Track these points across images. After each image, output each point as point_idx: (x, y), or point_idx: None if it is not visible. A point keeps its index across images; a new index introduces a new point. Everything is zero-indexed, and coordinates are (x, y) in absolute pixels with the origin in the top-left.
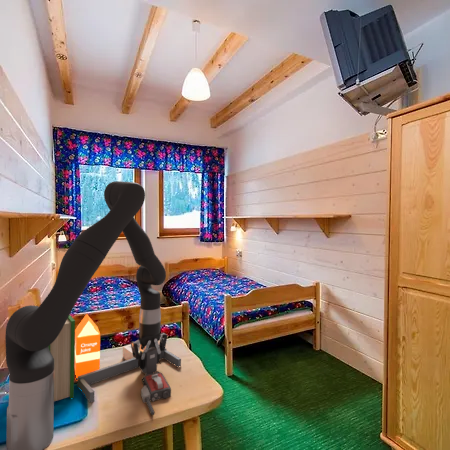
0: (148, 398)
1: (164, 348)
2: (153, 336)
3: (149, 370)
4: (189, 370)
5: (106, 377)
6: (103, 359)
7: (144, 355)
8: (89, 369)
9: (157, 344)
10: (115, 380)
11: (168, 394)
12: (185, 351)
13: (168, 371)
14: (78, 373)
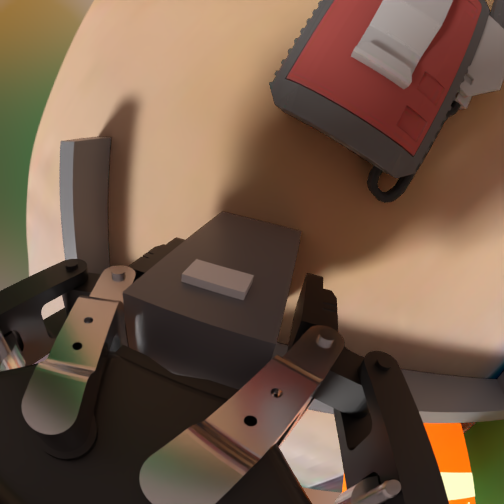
0: (499, 15)
1: (62, 265)
2: (49, 480)
3: (277, 235)
4: (99, 69)
5: (432, 377)
6: (303, 456)
7: (298, 346)
8: (441, 440)
9: (74, 335)
10: (434, 335)
11: None
12: (32, 242)
13: (172, 145)
14: (460, 438)
